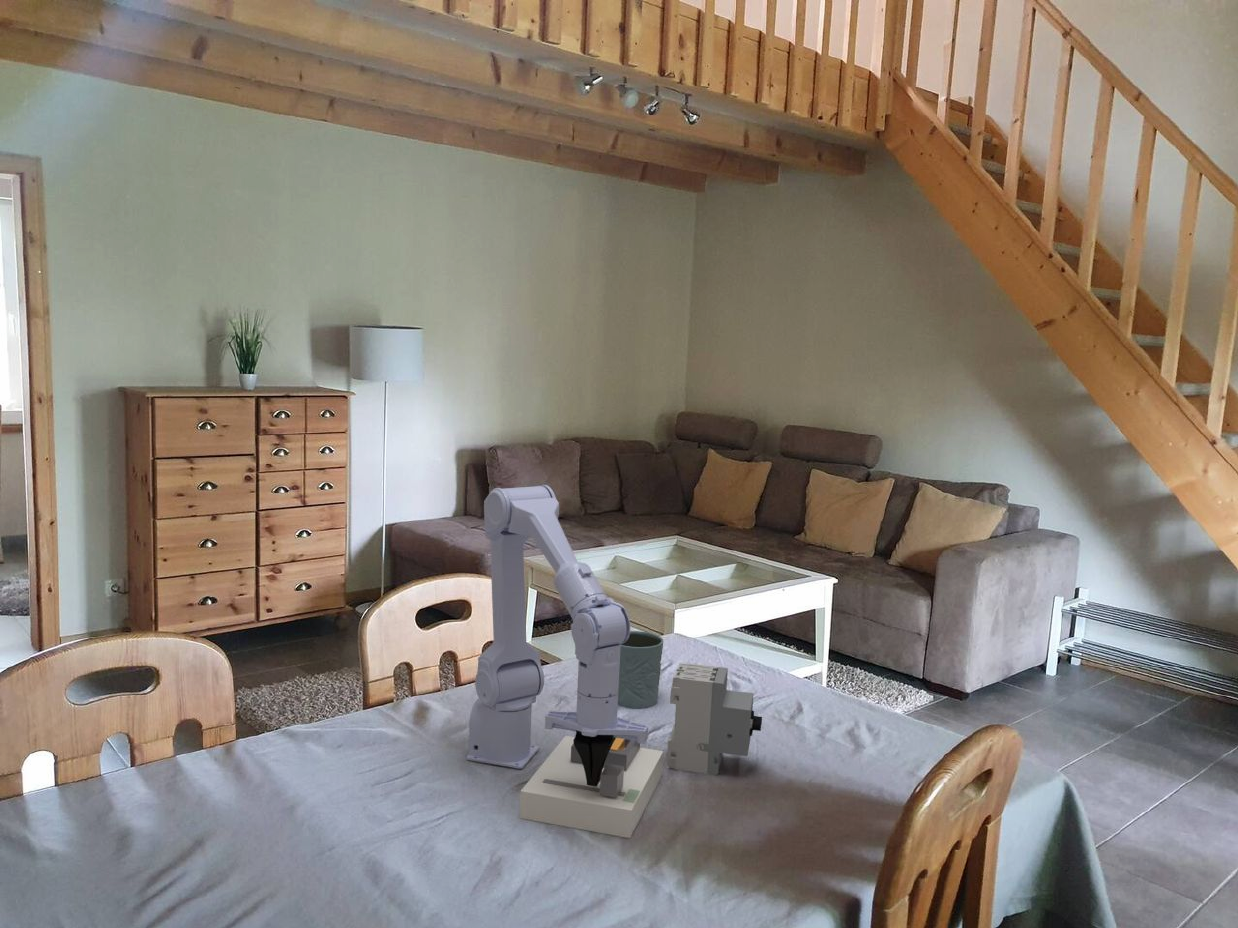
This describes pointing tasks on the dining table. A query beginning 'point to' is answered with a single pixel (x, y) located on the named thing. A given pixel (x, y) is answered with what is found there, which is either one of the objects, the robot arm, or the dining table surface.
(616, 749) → the button
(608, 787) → the block
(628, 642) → the green cylindrical pot
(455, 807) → the dining table surface
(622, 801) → the slider control box
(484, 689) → the robot arm
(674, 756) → the circuit breaker
